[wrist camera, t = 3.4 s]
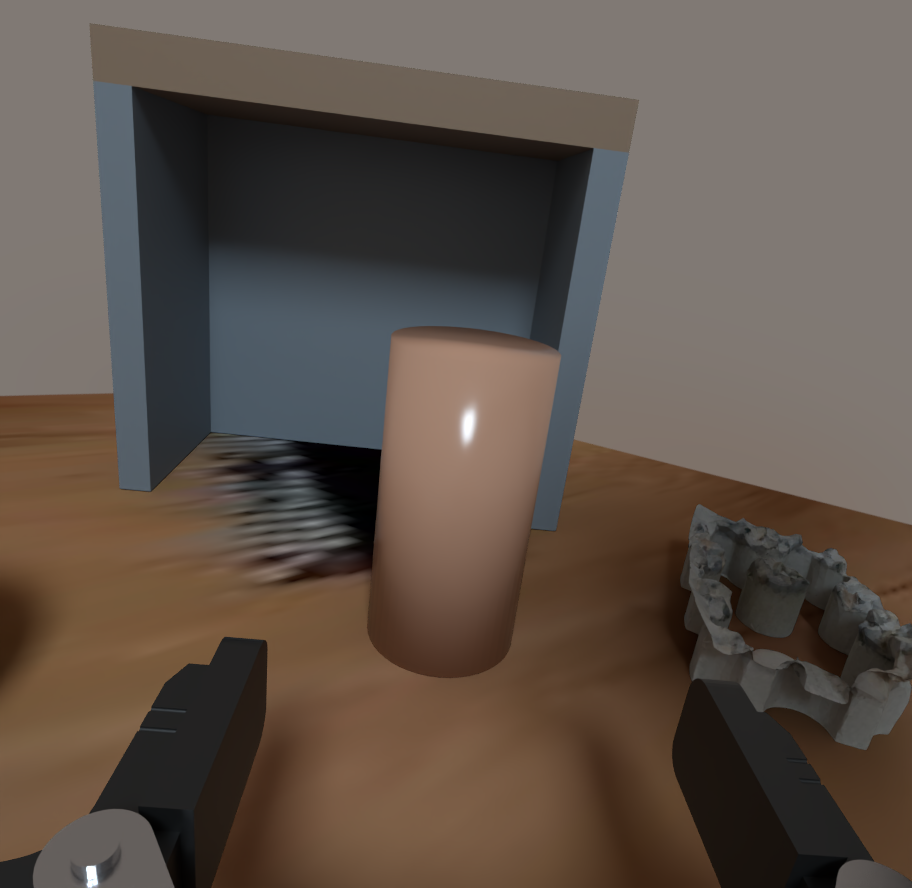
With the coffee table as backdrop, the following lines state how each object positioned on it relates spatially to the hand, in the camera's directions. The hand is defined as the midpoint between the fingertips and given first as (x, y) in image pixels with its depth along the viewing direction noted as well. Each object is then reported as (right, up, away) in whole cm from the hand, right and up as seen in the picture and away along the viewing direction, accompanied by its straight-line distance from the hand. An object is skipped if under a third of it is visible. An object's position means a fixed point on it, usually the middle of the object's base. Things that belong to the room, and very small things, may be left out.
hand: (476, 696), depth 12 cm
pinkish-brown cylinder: (-1, -2, +13) cm, 13 cm away
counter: (-6, +3, +25) cm, 26 cm away
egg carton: (+12, -4, +14) cm, 19 cm away
